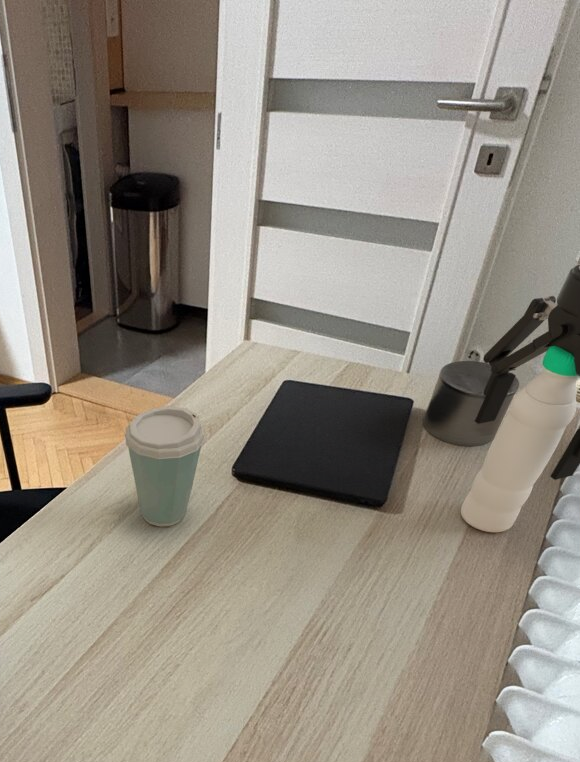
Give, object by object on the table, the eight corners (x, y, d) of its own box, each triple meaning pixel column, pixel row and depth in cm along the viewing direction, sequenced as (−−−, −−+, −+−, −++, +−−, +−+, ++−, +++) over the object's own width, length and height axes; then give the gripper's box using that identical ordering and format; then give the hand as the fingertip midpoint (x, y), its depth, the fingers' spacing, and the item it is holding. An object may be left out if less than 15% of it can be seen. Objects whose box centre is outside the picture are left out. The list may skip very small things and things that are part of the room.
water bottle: (522, 531, 87) (622, 359, 68) (475, 537, 86) (564, 365, 68) (493, 501, 91) (580, 332, 73) (449, 506, 91) (526, 338, 73)
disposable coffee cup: (140, 543, 86) (139, 451, 76) (116, 499, 93) (113, 409, 83) (210, 526, 89) (219, 434, 78) (181, 484, 96) (186, 395, 85)
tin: (488, 412, 108) (510, 363, 102) (502, 449, 101) (527, 398, 94) (418, 406, 110) (435, 358, 104) (426, 442, 102) (445, 392, 96)
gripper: (499, 239, 72) (435, 405, 87) (693, 323, 56) (573, 509, 71) (550, 232, 73) (479, 396, 89) (755, 312, 57) (623, 496, 73)
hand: (520, 447), depth 80 cm, fingers open, 13 cm apart
